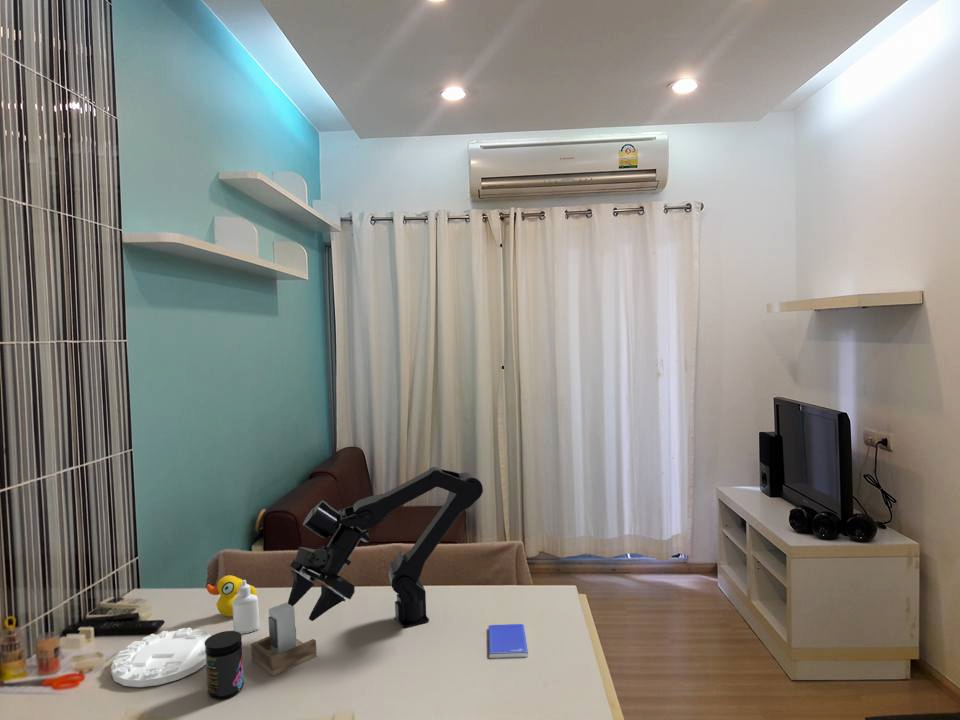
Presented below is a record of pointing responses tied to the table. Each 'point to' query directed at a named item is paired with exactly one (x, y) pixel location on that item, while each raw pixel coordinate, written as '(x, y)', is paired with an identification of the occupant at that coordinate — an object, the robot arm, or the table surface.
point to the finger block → (282, 628)
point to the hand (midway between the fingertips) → (299, 613)
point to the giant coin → (160, 658)
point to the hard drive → (507, 641)
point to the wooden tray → (281, 655)
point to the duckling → (227, 593)
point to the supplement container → (224, 664)
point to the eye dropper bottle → (245, 610)
